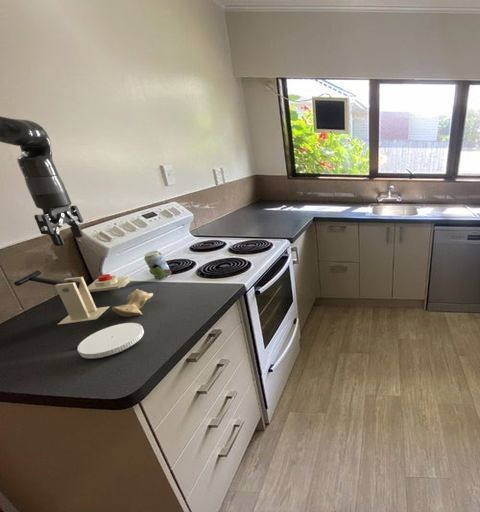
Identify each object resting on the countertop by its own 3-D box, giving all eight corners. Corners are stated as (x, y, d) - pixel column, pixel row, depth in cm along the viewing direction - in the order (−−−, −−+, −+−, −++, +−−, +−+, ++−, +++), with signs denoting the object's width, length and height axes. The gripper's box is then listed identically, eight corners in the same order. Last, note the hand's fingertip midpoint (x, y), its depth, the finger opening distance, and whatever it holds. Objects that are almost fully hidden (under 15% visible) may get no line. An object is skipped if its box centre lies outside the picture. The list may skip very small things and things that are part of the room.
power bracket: (58, 327, 90) (39, 289, 85) (75, 313, 98) (57, 277, 92) (97, 322, 93) (81, 284, 88) (110, 309, 100) (96, 273, 95)
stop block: (84, 295, 109) (80, 286, 108) (98, 284, 117) (94, 276, 115) (119, 291, 112) (116, 282, 111) (130, 281, 120) (127, 272, 119)
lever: (13, 286, 83) (14, 279, 83) (34, 275, 90) (35, 268, 90) (68, 296, 88) (69, 289, 88) (84, 284, 95) (85, 278, 95)
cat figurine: (107, 307, 90) (130, 281, 100) (111, 321, 94) (133, 295, 104) (137, 311, 92) (157, 285, 102) (141, 325, 96) (159, 299, 106)
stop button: (97, 282, 111) (95, 278, 110) (102, 278, 114) (100, 274, 114) (108, 281, 112) (107, 277, 111) (113, 277, 115) (111, 273, 115)
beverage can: (174, 277, 124) (166, 251, 119) (153, 283, 118) (144, 256, 114) (170, 273, 127) (162, 248, 123) (150, 278, 122) (141, 252, 118)
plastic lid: (93, 368, 74) (89, 360, 73) (72, 350, 81) (68, 343, 80) (154, 338, 86) (151, 331, 85) (132, 324, 92) (129, 318, 91)
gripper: (51, 188, 93) (71, 235, 99) (11, 195, 80) (37, 249, 87) (79, 187, 95) (97, 233, 101) (45, 194, 82) (68, 247, 88)
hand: (70, 241), depth 94 cm, fingers open, 8 cm apart
